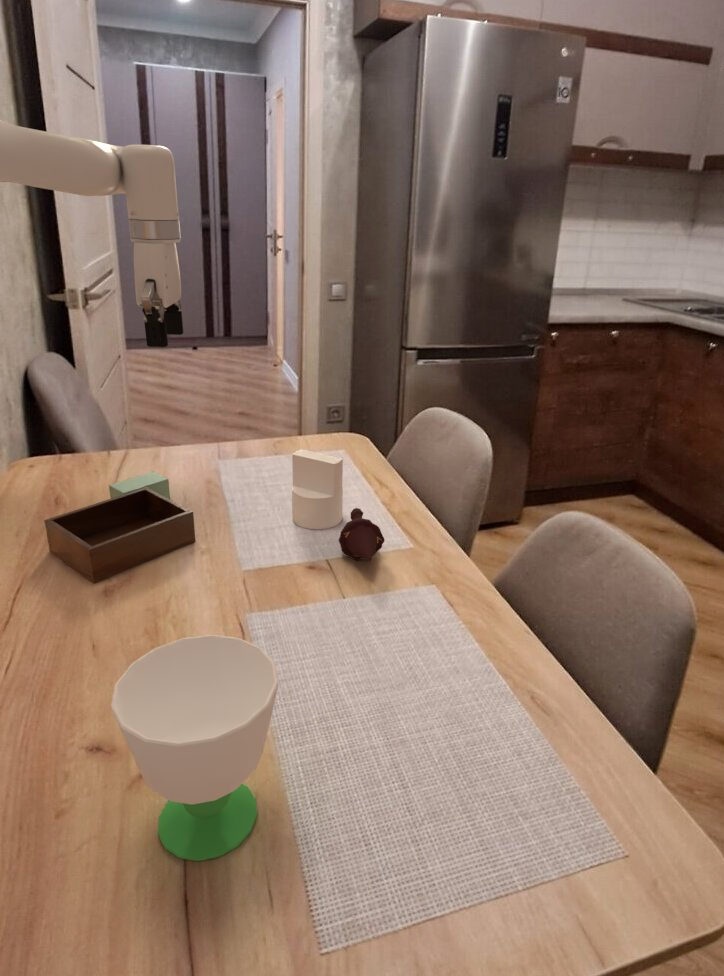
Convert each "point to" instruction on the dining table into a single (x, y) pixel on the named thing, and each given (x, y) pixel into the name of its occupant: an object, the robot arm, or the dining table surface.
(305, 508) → the base with upright slab
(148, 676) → the cup
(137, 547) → the box
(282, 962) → the dining table surface
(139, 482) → the block
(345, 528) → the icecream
